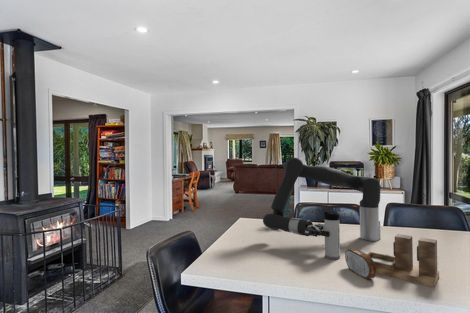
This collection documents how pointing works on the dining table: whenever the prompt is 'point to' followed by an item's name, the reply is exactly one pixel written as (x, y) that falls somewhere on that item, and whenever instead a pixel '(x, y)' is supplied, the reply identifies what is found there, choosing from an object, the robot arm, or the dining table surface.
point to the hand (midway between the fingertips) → (333, 232)
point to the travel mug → (332, 235)
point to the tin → (360, 263)
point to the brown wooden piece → (409, 261)
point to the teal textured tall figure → (288, 207)
